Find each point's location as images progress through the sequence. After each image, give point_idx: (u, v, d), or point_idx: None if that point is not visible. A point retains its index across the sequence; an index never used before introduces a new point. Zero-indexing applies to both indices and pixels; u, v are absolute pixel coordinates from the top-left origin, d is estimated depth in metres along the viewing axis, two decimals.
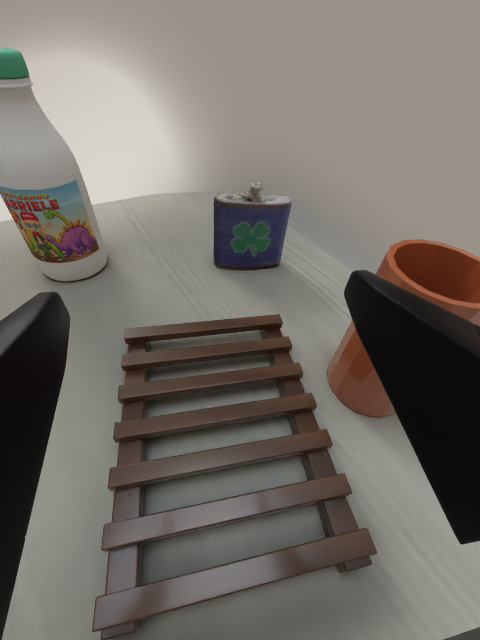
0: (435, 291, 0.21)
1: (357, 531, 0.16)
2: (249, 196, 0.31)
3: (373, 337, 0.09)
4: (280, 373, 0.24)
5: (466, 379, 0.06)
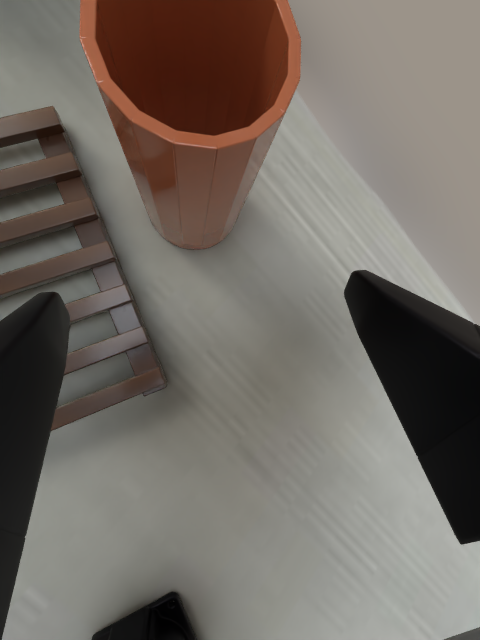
0: (238, 66, 0.12)
1: (149, 371, 0.19)
2: None
3: (373, 337, 0.09)
4: (64, 218, 0.18)
5: (465, 379, 0.06)
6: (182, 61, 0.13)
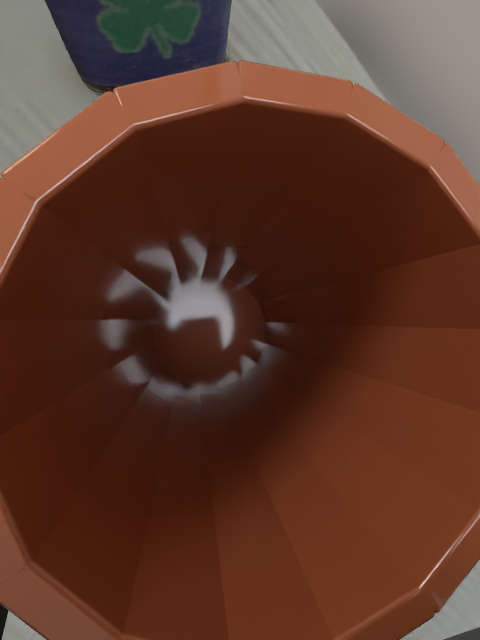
0: (317, 248, 0.07)
1: None
2: None
3: None
4: None
5: None
6: (211, 228, 0.07)
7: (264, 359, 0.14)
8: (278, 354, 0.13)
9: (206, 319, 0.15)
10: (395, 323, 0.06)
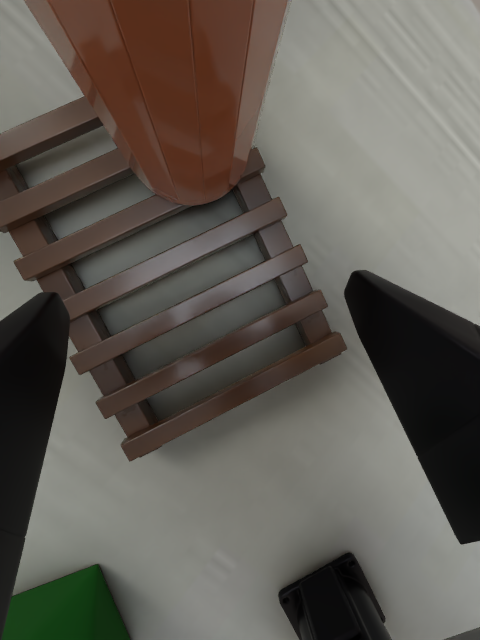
0: None
1: (331, 338, 0.17)
2: None
3: (373, 337, 0.09)
4: None
5: (466, 378, 0.06)
6: None
7: None
8: None
9: None
10: None
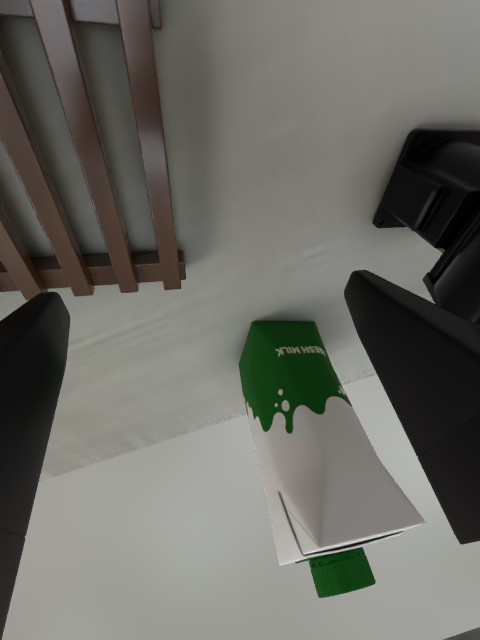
0: None
1: None
2: None
3: (373, 337, 0.09)
4: None
5: (465, 379, 0.06)
6: None
7: None
8: None
9: None
10: None
